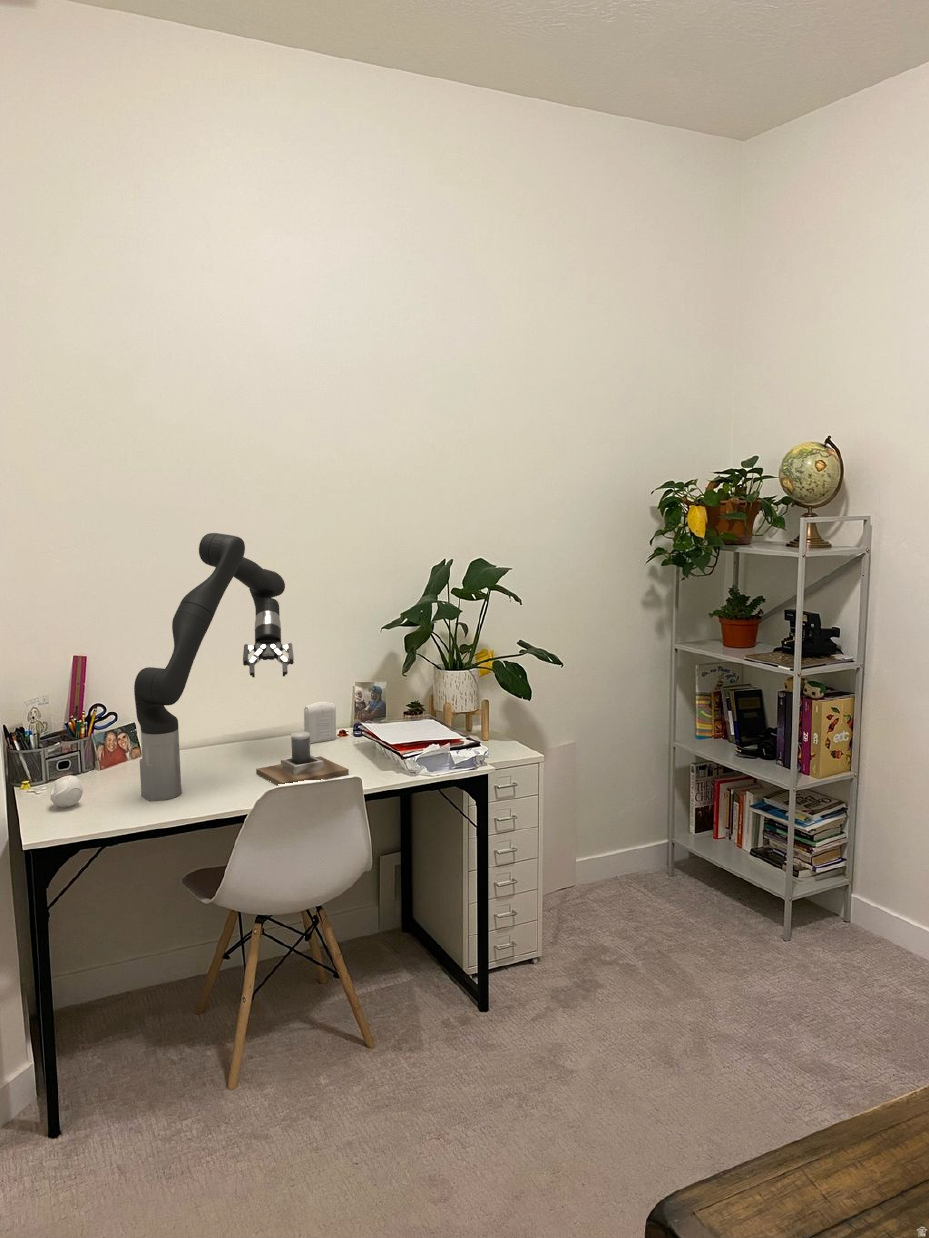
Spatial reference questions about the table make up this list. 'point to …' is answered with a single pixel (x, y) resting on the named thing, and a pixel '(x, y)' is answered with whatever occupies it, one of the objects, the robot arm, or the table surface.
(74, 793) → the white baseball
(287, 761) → the mount board
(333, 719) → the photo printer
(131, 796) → the table surface
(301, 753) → the dark grey cylinder
